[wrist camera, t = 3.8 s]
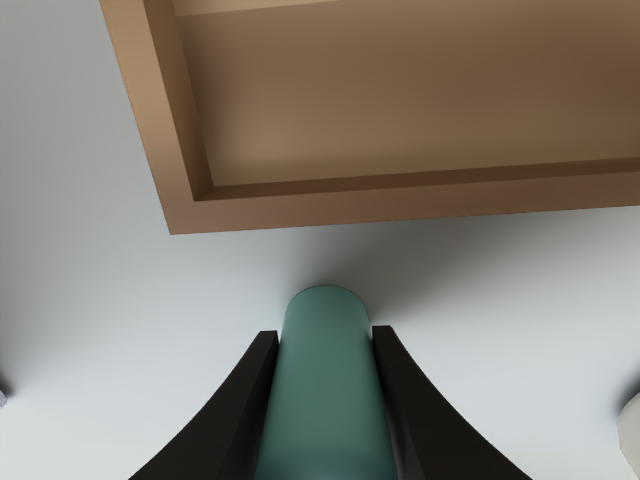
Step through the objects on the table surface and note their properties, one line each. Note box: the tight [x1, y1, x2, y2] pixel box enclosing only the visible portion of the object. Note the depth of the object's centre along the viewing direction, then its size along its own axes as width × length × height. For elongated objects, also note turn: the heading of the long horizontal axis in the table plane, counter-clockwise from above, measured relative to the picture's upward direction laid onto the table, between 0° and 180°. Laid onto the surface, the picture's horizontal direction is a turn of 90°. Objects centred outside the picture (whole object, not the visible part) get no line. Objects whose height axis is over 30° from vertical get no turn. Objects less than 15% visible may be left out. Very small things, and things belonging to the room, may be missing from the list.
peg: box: [254, 285, 399, 480], centre depth 10 cm, size 3×3×6 cm
